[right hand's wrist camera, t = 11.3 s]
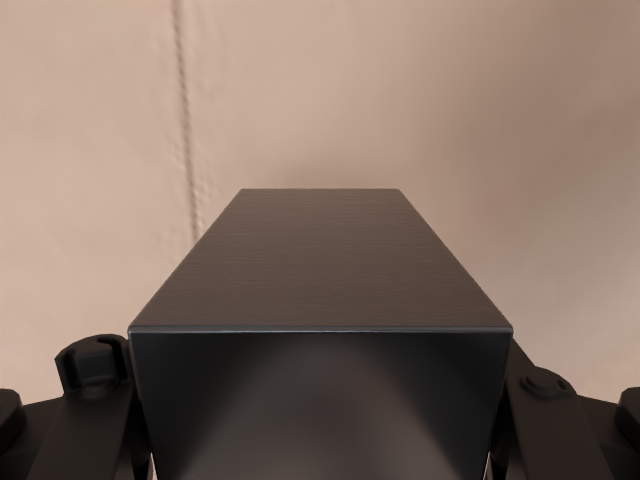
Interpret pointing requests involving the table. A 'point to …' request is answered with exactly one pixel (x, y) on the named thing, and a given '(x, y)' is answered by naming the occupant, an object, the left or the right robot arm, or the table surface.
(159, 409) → the bar
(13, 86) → the table surface
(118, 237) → the table surface
